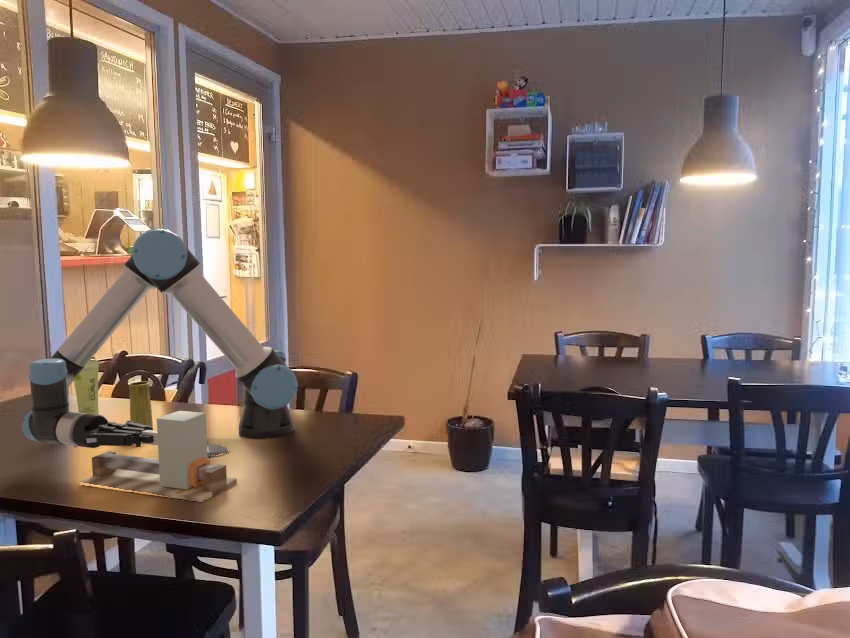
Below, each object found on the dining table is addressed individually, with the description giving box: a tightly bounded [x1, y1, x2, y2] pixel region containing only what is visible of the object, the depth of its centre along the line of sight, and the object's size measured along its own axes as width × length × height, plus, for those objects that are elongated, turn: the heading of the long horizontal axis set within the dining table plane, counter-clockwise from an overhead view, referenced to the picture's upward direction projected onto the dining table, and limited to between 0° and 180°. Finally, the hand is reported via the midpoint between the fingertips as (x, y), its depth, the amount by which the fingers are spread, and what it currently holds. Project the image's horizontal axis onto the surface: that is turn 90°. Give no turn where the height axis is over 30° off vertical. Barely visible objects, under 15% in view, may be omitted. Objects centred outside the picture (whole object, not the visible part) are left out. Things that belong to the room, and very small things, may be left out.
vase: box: [128, 380, 154, 430], centre depth 184 cm, size 6×6×14 cm
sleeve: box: [156, 410, 211, 489], centre depth 141 cm, size 8×7×15 cm
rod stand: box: [79, 450, 238, 502], centre depth 144 cm, size 32×12×5 cm, turn 71°
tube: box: [73, 359, 100, 415], centre depth 190 cm, size 6×5×20 cm
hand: (168, 439), depth 142 cm, fingers closed
